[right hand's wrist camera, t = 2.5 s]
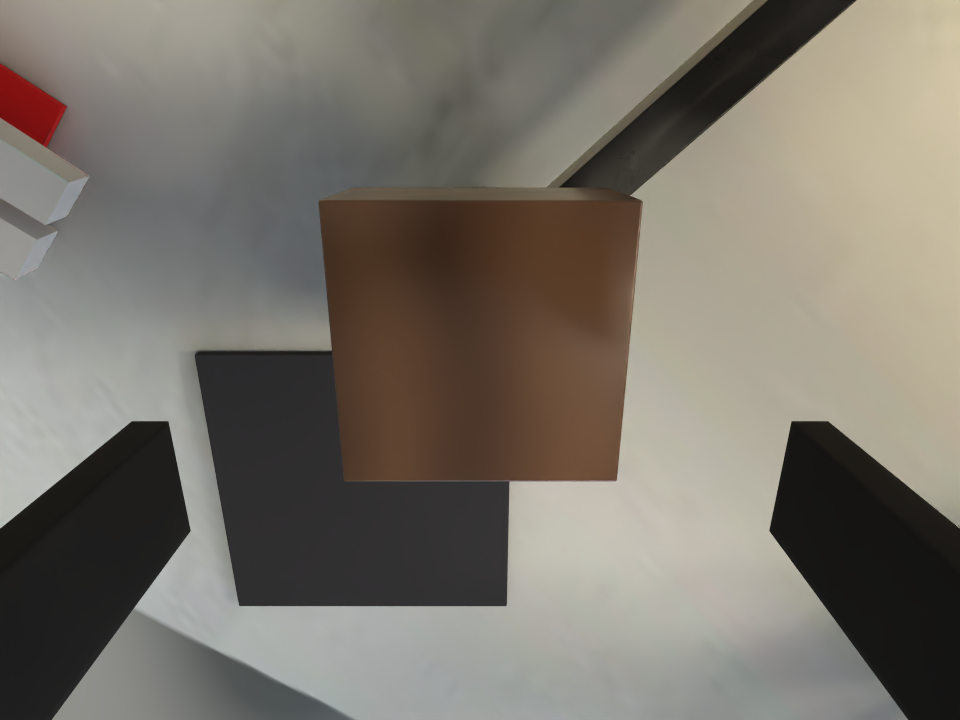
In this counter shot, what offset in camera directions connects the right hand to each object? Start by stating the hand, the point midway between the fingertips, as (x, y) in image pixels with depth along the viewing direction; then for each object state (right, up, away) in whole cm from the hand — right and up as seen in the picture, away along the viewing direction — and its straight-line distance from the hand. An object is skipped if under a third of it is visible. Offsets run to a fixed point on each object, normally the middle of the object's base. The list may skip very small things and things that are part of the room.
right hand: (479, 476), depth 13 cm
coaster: (-8, -6, +29) cm, 30 cm away
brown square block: (0, +4, +12) cm, 13 cm away
